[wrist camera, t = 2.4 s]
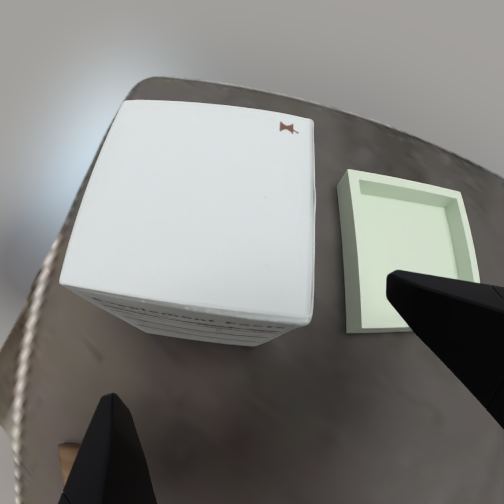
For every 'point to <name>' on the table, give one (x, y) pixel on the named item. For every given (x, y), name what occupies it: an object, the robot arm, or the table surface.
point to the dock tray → (397, 242)
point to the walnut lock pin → (67, 458)
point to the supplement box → (199, 222)
